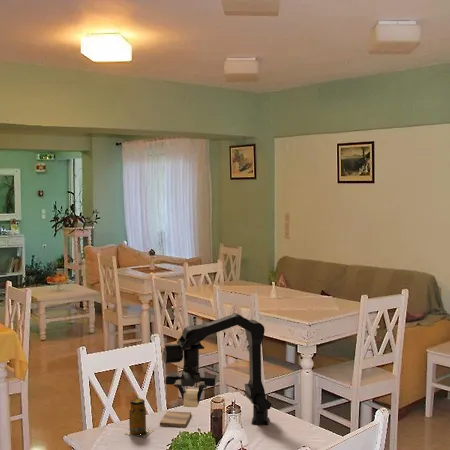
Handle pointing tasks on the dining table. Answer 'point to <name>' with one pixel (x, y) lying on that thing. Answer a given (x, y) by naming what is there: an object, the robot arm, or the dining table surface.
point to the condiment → (138, 418)
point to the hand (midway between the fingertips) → (191, 401)
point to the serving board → (175, 419)
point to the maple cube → (191, 398)
